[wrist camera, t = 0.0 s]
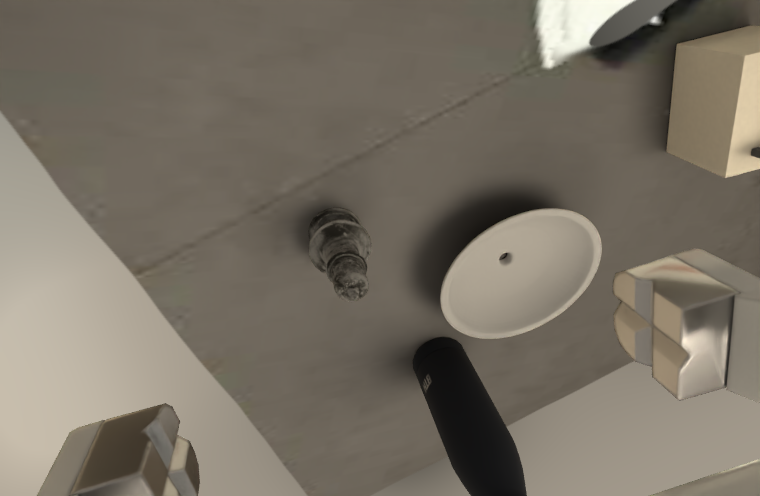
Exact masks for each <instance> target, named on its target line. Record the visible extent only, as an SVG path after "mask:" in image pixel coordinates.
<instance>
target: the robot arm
mask: <svg viewBox="0 0 760 496" xmlns="http://www.w3.org/2000/svg"><path fill="white" fill-rule="evenodd" d="M613 294H614V295H615V296H616V297H617V298H618V299H619V300H620V301H621V302H620V304H619V306H618V307H617V309H616V311H615V312H614V314H613V315H614V330H615V332H616V335H617V338H618V340H619V343H620V345H621V346H622V347H623V349H624V350H625V352H626V353H627V354H628V355H629V356H630V357H631V358H632V359H633V360H634V361H635V362H639V363H641V364H645V365H648V366H651V367H652V377H653V378H654V379H656V381H658V382H659V383H660V384H661V385H662V386H663V387H664V388H665V389H667V390H668V391H669V392H670V393H671V394H672V395H673V396H674V397H675V398H677V399H678V400H679V401H681V400H684V399H688V398H691V397H695V396H698V395H702V394H705V393H709V392H712V391H715V390H719V389H722V388H726V387H727V389H726V390H728V391H731V392H733V393H736V394H738V395H741V396H743V397H746V398H748V399H751V400H753V401H756V402H759V403H760V278H758V277H756V276H754V275H752V274H750V273H748V272H746V271H744V270H742V269H740V268H738V267H736V266H734V265H732V264H730V263H728V262H726V261H724V260H722V259H720V258H718V257H716V256H714V255H712V254H710V253H708V252H706V251H704V250H702V249H689V250H686V251H683V252H680V253H677V254H674V255H671V256H667V257H666V258H663V259H660V260H656V261H653V262H650V263H647V264H643V265H640V266H637V267H634V268H631V269H627V270H624V271H621V272H618V273H616V274H615V277H614V280H613ZM179 424H180V420H179V419H178V417H177V415H176V413H175V411H174V409H173V407H172V406H170V405H168V404H166V403H165V404H162V405H158V406H154V407H151V408H147V409H143V410H139V411H136V412H132V413H129V414H125V415H121V416H117V417H114V418H110V419H107V420H102V421H99V422H95V423H92V424H89V425H85V426H82V427H79V428H77V429H75V430H73V431H71V432H70V433H69V435H68V437H67V439H66V441H65V443H64V445H63V446H62V448H61V450H60V452H59V454H58V456H57V458H56V460H55V462H54V464H53V466H52V468H51V469H50V471H49V473H48V475H47V477H46V479H45V481H44V483H43V485H42V487H41V489H40V491H39V493H38V495H37V496H198V491H199V484H200V479H199V466H198V462H197V458H196V455H195V452H194V450H193V447H192V445H191V443H190V441H189V440H187V439H185V438H183V437H181V436H179V435H177V432H178V428H179ZM650 496H760V459H758V460H755V461H752V462H749V463H746V464H743V465H740V466H737V467H734V468H731V469H728V470H725V471H722V472H719V473H716V474H713V475H710V476H707V477H704V478H701V479H698V480H695V481H692V482H689V483H686V484H683V485H680V486H677V487H674V488H671V489H668V490H665V491H662V492H659V493H656V494H653V495H650Z"/></svg>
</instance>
